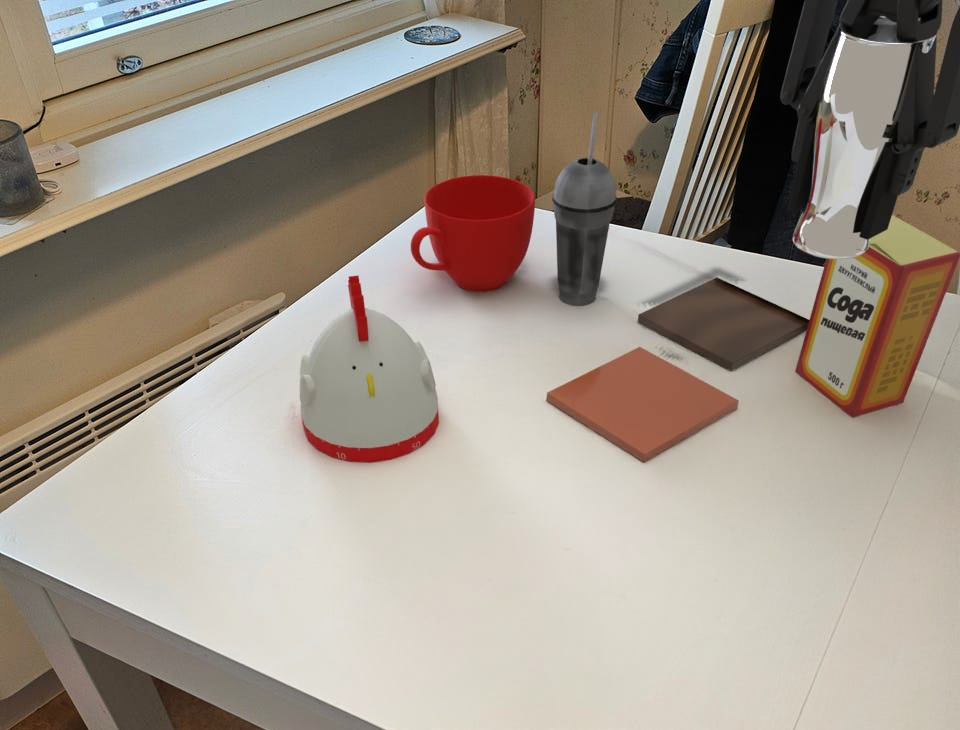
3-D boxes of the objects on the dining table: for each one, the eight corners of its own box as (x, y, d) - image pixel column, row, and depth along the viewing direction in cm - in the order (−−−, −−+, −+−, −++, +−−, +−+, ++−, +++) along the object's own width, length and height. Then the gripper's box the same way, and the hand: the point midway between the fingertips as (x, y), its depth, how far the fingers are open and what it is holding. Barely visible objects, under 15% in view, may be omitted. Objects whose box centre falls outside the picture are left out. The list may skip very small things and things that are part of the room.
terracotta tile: (737, 408, 93) (739, 400, 92) (643, 462, 87) (645, 454, 86) (638, 354, 100) (639, 346, 99) (545, 400, 94) (546, 392, 94)
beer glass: (785, 221, 77) (833, 13, 65) (870, 227, 76) (933, 16, 64) (787, 259, 72) (839, 42, 61) (878, 265, 71) (947, 45, 60)
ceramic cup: (383, 289, 111) (375, 206, 103) (483, 246, 118) (482, 165, 111) (452, 328, 104) (449, 242, 97) (554, 279, 112) (558, 196, 105)
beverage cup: (535, 300, 109) (542, 118, 94) (567, 276, 112) (578, 98, 98) (588, 317, 106) (603, 132, 91) (618, 292, 110) (637, 111, 95)
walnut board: (810, 328, 103) (812, 320, 103) (731, 371, 98) (732, 363, 97) (716, 284, 111) (717, 276, 110) (637, 322, 105) (638, 314, 104)
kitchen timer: (309, 470, 87) (281, 327, 76) (298, 392, 96) (272, 254, 85) (450, 451, 89) (443, 307, 77) (427, 376, 98) (418, 238, 86)
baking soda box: (795, 371, 97) (836, 222, 86) (843, 358, 99) (891, 209, 87) (852, 417, 92) (905, 263, 80) (903, 402, 93) (962, 249, 81)
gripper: (773, -169, 59) (713, 196, 76) (1061, -137, 49) (916, 275, 66) (842, -182, 62) (769, 172, 79) (1125, -154, 52) (971, 244, 69)
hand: (836, 218), depth 72 cm, fingers closed on beer glass, 6 cm apart
